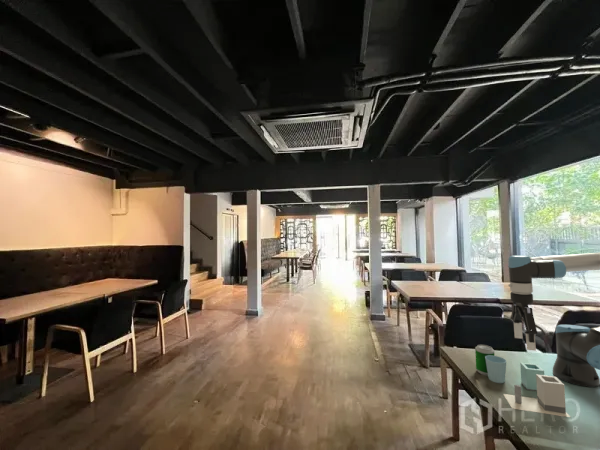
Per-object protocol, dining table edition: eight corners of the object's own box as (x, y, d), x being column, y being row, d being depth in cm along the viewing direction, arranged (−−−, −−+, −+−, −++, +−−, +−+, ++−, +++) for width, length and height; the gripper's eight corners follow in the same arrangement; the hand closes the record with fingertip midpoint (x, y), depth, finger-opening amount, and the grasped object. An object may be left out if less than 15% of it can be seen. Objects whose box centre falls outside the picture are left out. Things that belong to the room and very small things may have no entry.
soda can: (498, 377, 129) (497, 350, 130) (480, 376, 131) (479, 349, 131) (490, 369, 137) (489, 344, 137) (473, 368, 138) (472, 343, 139)
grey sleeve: (557, 404, 106) (555, 376, 107) (565, 413, 101) (564, 384, 101) (537, 401, 108) (536, 374, 109) (544, 410, 103) (543, 382, 103)
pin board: (556, 405, 108) (555, 385, 108) (571, 421, 99) (569, 399, 99) (503, 397, 114) (502, 378, 114) (512, 412, 104) (511, 391, 105)
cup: (508, 389, 119) (507, 364, 120) (486, 385, 123) (485, 360, 124) (506, 381, 126) (505, 357, 126) (485, 377, 130) (484, 354, 130)
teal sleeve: (538, 388, 120) (537, 364, 120) (545, 396, 114) (544, 370, 114) (521, 386, 122) (520, 362, 122) (527, 393, 116) (526, 368, 116)
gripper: (501, 286, 133) (504, 333, 133) (521, 298, 110) (525, 354, 109) (520, 287, 131) (523, 334, 130) (545, 299, 107) (549, 356, 107)
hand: (524, 343), depth 120 cm, fingers open, 13 cm apart
